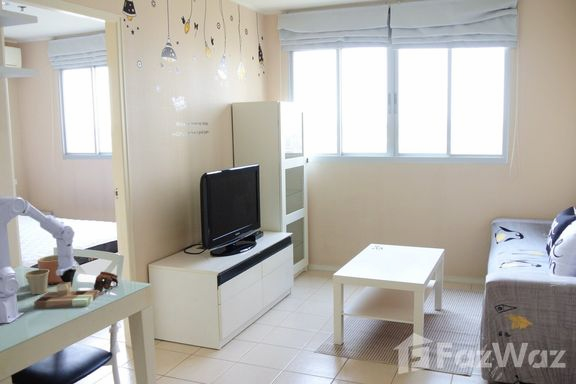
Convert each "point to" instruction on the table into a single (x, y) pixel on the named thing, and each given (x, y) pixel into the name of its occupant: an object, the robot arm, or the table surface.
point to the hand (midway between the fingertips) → (68, 288)
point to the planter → (50, 268)
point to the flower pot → (37, 281)
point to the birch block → (64, 288)
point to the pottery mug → (105, 281)
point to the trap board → (66, 299)
